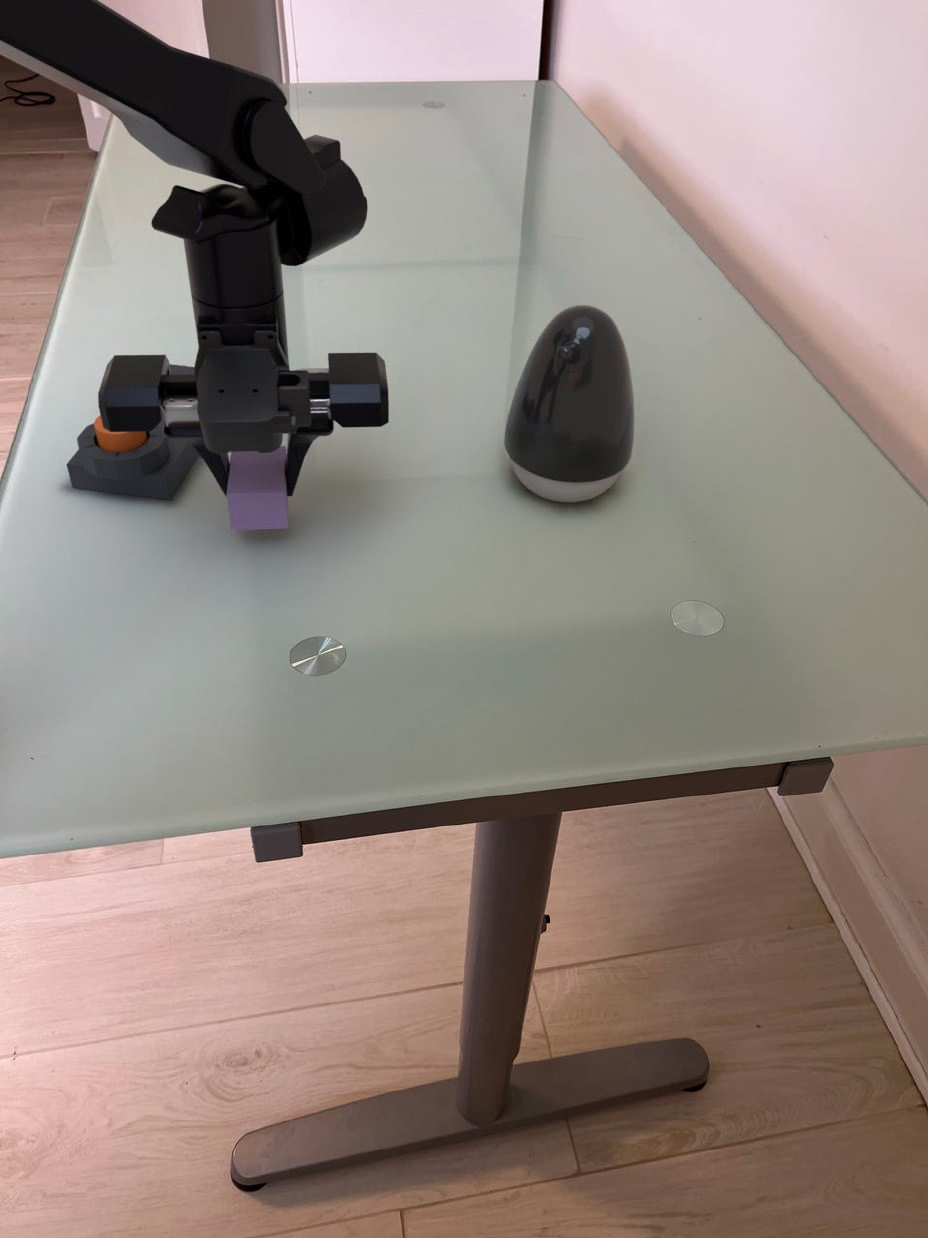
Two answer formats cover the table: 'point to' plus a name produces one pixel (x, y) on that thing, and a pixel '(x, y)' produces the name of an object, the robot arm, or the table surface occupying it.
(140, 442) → the orange push button
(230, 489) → the soap bar
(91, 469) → the button base
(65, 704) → the table surface
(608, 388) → the dark grey egg dome
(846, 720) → the table surface
